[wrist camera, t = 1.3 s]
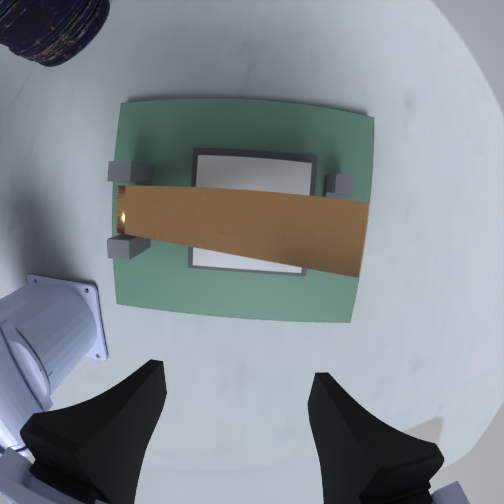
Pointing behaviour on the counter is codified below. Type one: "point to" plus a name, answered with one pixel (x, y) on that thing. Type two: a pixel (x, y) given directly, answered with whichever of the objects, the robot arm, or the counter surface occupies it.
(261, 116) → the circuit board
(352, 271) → the hold-down strap
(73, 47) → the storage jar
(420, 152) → the counter surface
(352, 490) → the robot arm
